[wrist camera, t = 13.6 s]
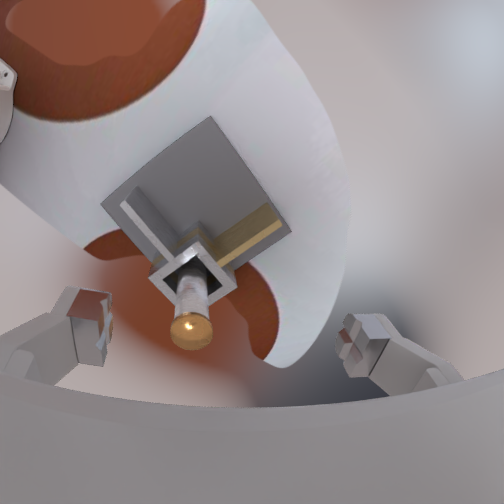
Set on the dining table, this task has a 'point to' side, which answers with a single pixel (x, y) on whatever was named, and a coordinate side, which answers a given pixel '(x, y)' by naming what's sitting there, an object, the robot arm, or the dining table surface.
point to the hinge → (196, 245)
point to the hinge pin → (192, 307)
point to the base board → (196, 190)
